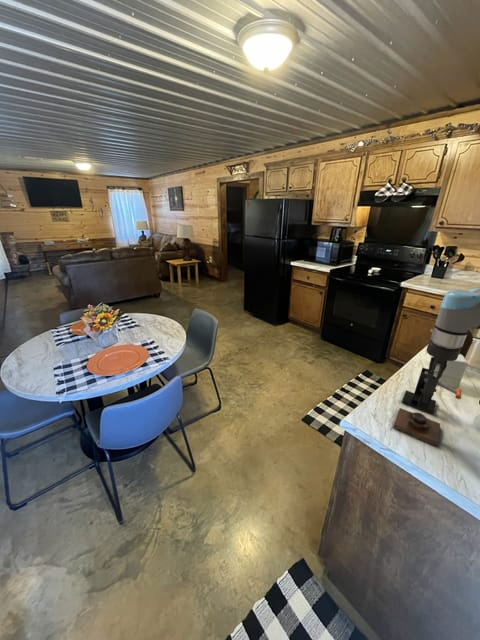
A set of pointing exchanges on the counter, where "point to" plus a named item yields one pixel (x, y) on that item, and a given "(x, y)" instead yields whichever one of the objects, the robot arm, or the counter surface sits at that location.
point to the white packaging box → (454, 372)
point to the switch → (450, 389)
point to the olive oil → (466, 344)
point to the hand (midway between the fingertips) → (422, 407)
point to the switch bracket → (419, 394)
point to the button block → (417, 427)
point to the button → (419, 418)
